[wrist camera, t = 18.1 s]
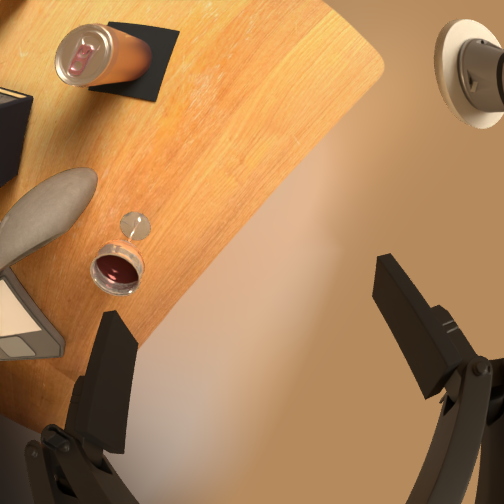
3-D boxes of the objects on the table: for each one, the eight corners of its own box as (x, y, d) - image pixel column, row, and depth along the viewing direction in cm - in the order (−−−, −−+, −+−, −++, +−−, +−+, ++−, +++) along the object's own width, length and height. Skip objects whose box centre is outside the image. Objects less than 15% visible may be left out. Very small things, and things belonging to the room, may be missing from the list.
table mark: (179, 31, 27) (179, 31, 27) (156, 101, 32) (155, 101, 32) (109, 21, 24) (108, 21, 24) (88, 90, 29) (88, 90, 29)
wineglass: (154, 205, 40) (136, 252, 31) (158, 244, 44) (145, 297, 34) (111, 207, 40) (83, 253, 30) (118, 245, 43) (97, 296, 34)
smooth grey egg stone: (43, 228, 40) (-11, 304, 24) (22, 195, 36) (-43, 262, 20) (126, 179, 38) (74, 256, 22) (103, 137, 34) (31, 191, 18)
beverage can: (102, 72, 28) (42, 77, 16) (123, 33, 26) (72, 15, 13) (138, 87, 31) (94, 97, 18) (161, 48, 28) (128, 32, 16)
